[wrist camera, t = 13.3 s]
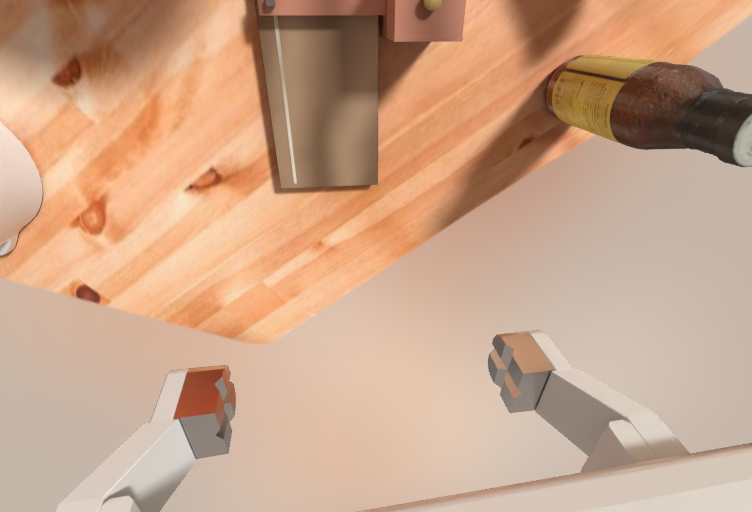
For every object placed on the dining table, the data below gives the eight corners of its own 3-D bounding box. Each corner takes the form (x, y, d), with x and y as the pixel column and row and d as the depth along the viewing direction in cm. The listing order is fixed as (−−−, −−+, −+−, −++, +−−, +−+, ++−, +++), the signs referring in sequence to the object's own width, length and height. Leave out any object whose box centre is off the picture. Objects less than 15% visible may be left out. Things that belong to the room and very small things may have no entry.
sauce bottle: (564, 131, 41) (727, 213, 24) (529, 92, 39) (685, 153, 22) (617, 79, 39) (836, 131, 22) (583, 34, 36) (803, 53, 20)
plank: (282, 182, 41) (281, 188, 39) (244, -94, 29) (240, -99, 28) (376, 179, 42) (377, 184, 40) (376, -91, 30) (378, -95, 29)
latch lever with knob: (267, 36, 34) (251, 43, 26) (258, -35, 31) (236, -50, 24) (435, 35, 35) (465, 42, 28) (440, -33, 32) (474, -47, 25)
